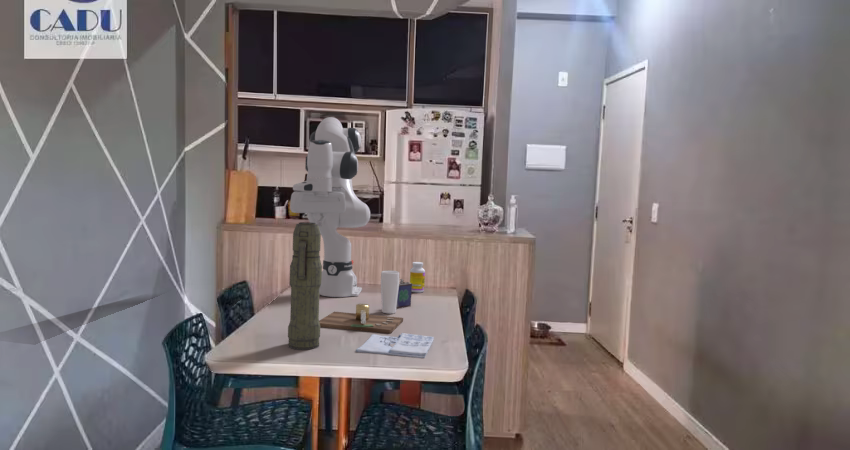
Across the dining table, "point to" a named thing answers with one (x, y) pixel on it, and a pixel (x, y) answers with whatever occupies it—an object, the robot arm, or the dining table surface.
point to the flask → (404, 294)
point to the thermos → (305, 287)
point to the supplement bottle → (417, 277)
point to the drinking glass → (389, 291)
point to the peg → (362, 313)
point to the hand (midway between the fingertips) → (318, 226)
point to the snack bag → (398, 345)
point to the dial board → (349, 322)
